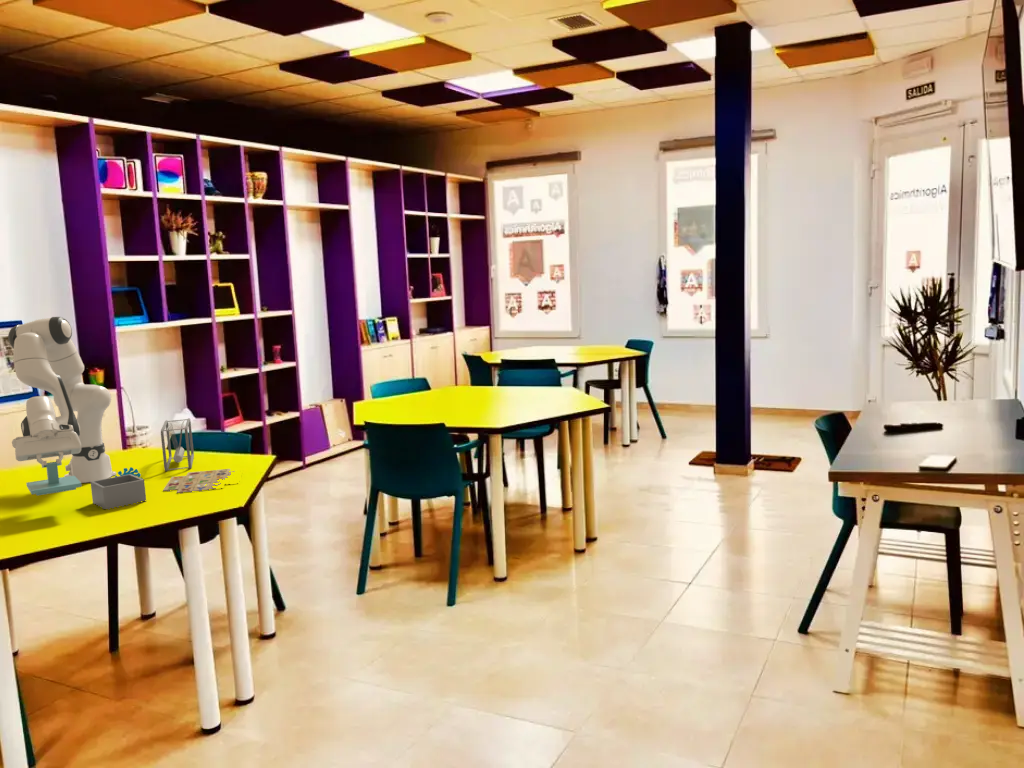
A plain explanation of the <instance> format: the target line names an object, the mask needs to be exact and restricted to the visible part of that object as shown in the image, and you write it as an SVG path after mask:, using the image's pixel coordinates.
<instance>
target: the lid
mask: <svg viewBox="0 0 1024 768" xmlns="http://www.w3.org/2000/svg"><path fill="white" fill-rule="evenodd" d="M45 468H46V475H47V476H46V477H47V479H44V480H36V481H28V482H26V487H27V489H28V490H29V493H31V495H36V496H41V495H43V496H44V495H48V494H49V495H50V494H54V493H56V494H57V493H61V492H67V491H69V492H70V491H74V490H77V488H80V487H82V483H81V482H80V481H79V480H78V479H77V478H76V477H75V476H68V477H64V476H63V477H59V469H58V466H57V462H56V461H51V462H47V467H45Z"/></svg>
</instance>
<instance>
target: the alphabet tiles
mask: <svg viewBox="0 0 1024 768" xmlns="http://www.w3.org/2000/svg"><path fill="white" fill-rule="evenodd" d="M229 471H230V472H229ZM231 472H235V470H234V471H231V468H226V469H225V468H224V469H216V470H214V469H213V470H203V471H202V470H201V471H192V472H191V471H190V472H187V474H186V475H181V476H179V475H178V476H171V478H170V479H169V481H168V482H167V483H166V484H165V486H164V488H163V490H162V492H163V491H167V492H171V491H170V490H177V491H176V494H177V493H180V494H184V493H183V492H190V493H193V492H192V491H199V492H203V491H202V490H208V491H210V490H209V489H216V488H213V487H212V486H218V485H220V484H221V483H220V484H218V485H215V484H213V483H219V482H220V481H219V482H218V481H217V480H219V479H222V480H223V479H224V480H225V478H228V477H227V476H230V475H231ZM206 484H207V485H206ZM205 485H206V486H205Z"/></svg>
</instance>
